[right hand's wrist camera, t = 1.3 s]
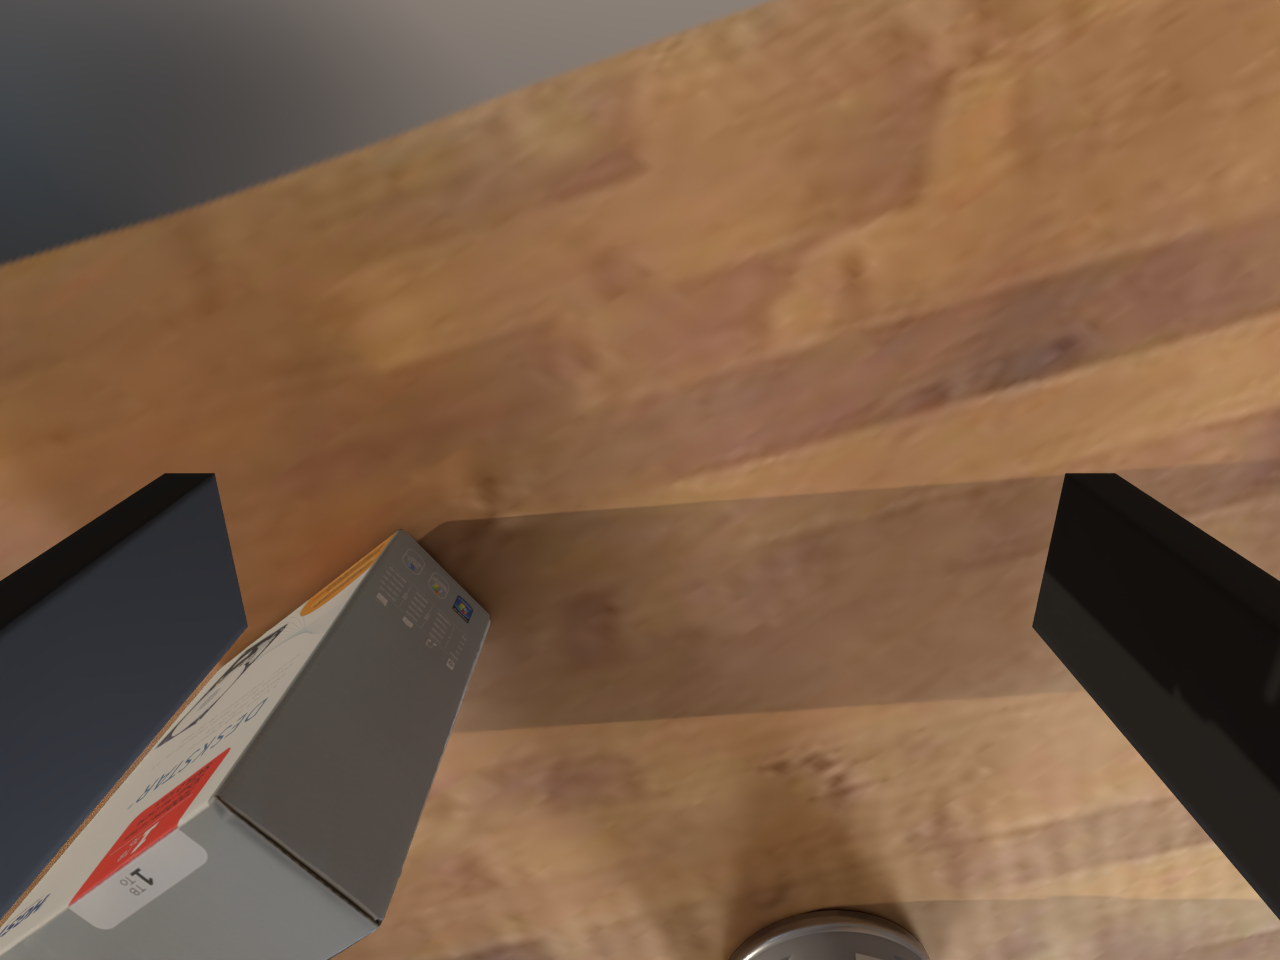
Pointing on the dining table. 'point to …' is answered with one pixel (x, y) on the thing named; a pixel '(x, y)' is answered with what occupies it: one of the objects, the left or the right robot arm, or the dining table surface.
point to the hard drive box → (276, 785)
